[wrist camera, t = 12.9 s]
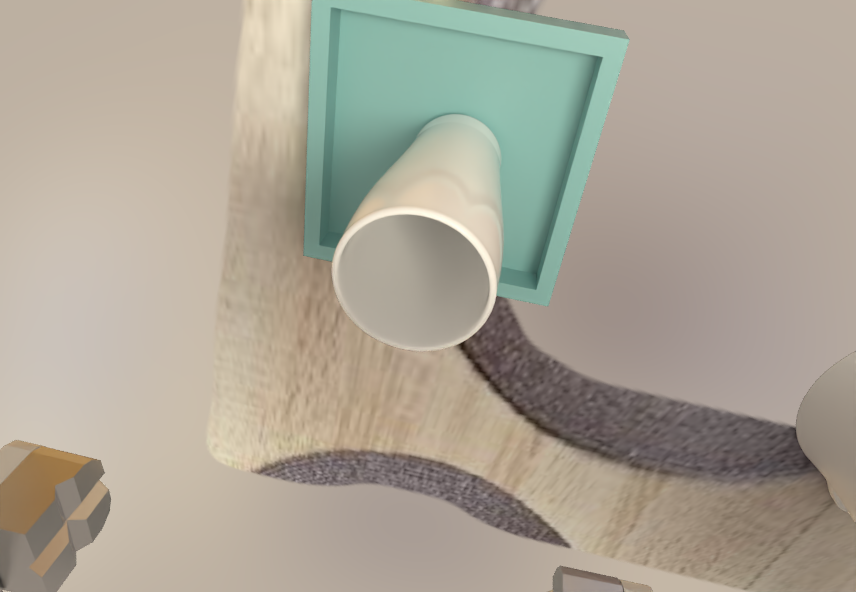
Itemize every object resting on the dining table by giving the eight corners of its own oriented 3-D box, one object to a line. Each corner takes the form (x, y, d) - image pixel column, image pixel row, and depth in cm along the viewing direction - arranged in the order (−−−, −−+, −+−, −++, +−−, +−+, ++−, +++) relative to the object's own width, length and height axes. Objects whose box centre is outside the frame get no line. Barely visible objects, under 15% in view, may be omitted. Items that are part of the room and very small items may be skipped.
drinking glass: (487, 224, 39) (460, 376, 26) (387, 183, 38) (310, 319, 26) (534, 125, 35) (528, 247, 22) (423, 79, 34) (354, 177, 22)
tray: (623, 30, 32) (629, 39, 30) (548, 285, 41) (548, 306, 39) (327, -23, 33) (312, -18, 31) (316, 237, 42) (303, 255, 40)
